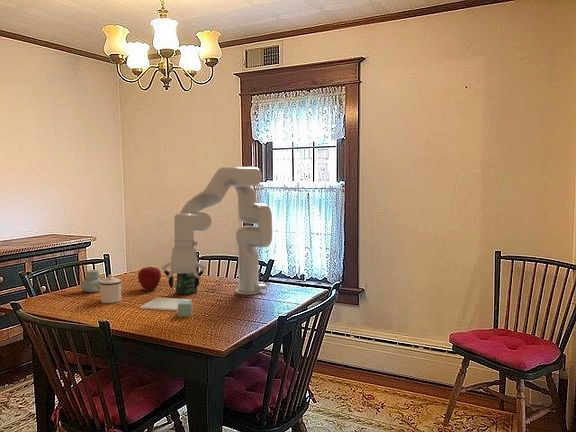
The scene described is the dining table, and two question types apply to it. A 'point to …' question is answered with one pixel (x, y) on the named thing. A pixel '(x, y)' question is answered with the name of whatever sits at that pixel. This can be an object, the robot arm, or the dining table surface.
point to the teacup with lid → (110, 290)
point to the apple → (149, 277)
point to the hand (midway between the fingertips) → (184, 287)
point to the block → (185, 308)
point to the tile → (163, 304)
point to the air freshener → (91, 281)
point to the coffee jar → (185, 283)
